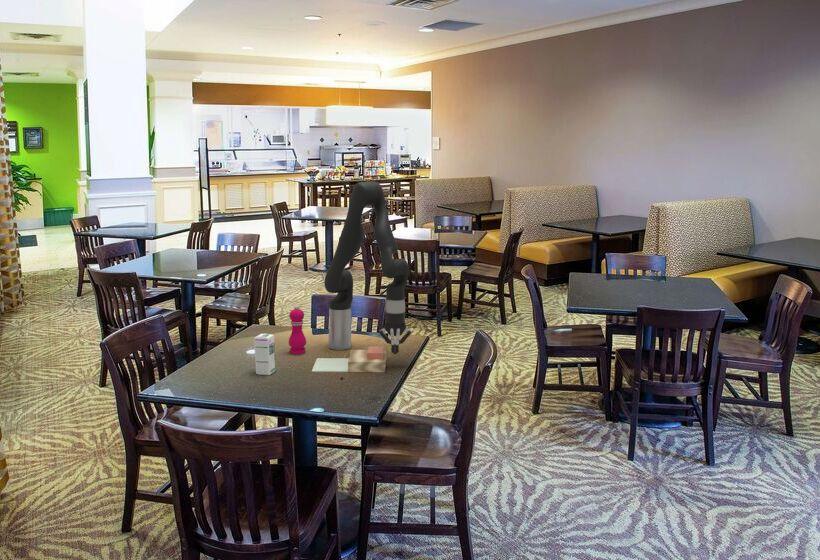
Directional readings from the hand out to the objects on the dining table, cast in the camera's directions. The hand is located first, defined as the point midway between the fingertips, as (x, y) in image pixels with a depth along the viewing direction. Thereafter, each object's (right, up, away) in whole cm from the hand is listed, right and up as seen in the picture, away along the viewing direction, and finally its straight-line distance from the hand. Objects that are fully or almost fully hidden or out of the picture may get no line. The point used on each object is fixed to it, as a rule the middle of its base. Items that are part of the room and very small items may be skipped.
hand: (395, 353), depth 268 cm
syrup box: (-49, -6, -8) cm, 50 cm away
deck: (-11, -5, +1) cm, 12 cm away
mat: (-25, -5, +1) cm, 25 cm away
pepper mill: (-41, -2, +17) cm, 44 cm away
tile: (-8, 0, 0) cm, 8 cm away
